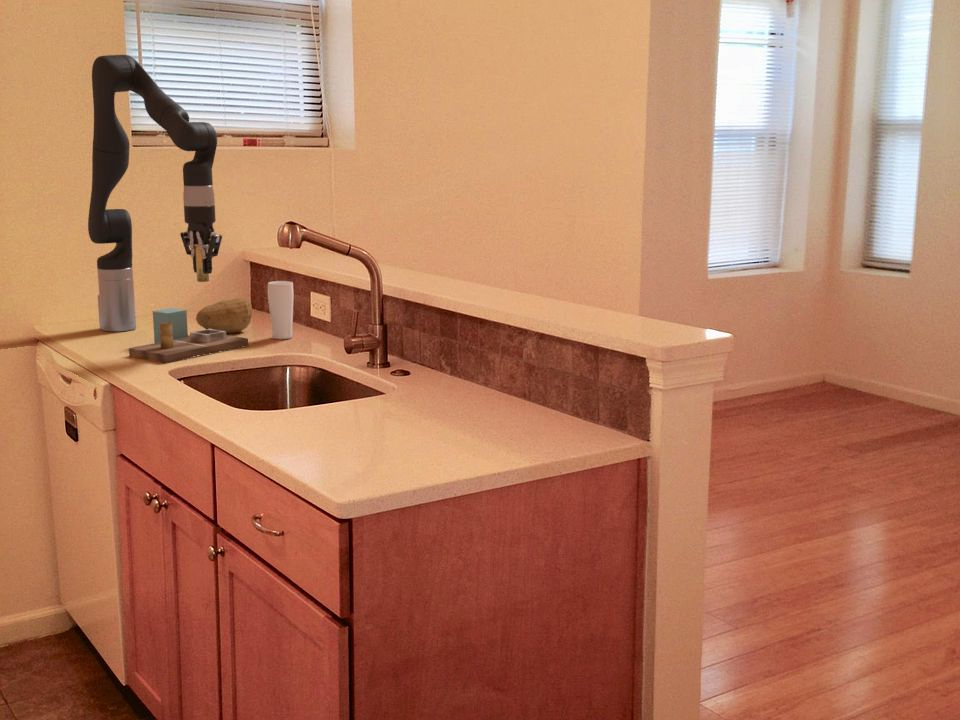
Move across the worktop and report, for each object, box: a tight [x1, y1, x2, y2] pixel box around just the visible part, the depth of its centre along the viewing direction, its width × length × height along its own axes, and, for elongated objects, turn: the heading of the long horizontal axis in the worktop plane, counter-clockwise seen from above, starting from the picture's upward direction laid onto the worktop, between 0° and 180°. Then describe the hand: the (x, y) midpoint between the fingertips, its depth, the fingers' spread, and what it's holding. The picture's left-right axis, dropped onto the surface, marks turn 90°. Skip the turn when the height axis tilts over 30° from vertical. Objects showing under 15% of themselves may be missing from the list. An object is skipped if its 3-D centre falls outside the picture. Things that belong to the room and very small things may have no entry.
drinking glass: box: [267, 280, 295, 340], centre depth 287 cm, size 7×7×15 cm
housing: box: [152, 307, 189, 343], centre depth 280 cm, size 6×6×9 cm
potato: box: [195, 297, 253, 334], centre depth 295 cm, size 9×16×9 cm, turn 117°
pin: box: [195, 245, 210, 283], centre depth 272 cm, size 3×3×9 cm
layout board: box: [128, 323, 249, 364], centre depth 271 cm, size 14×26×8 cm, turn 144°
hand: (203, 272), depth 272 cm, fingers closed on pin, 3 cm apart
